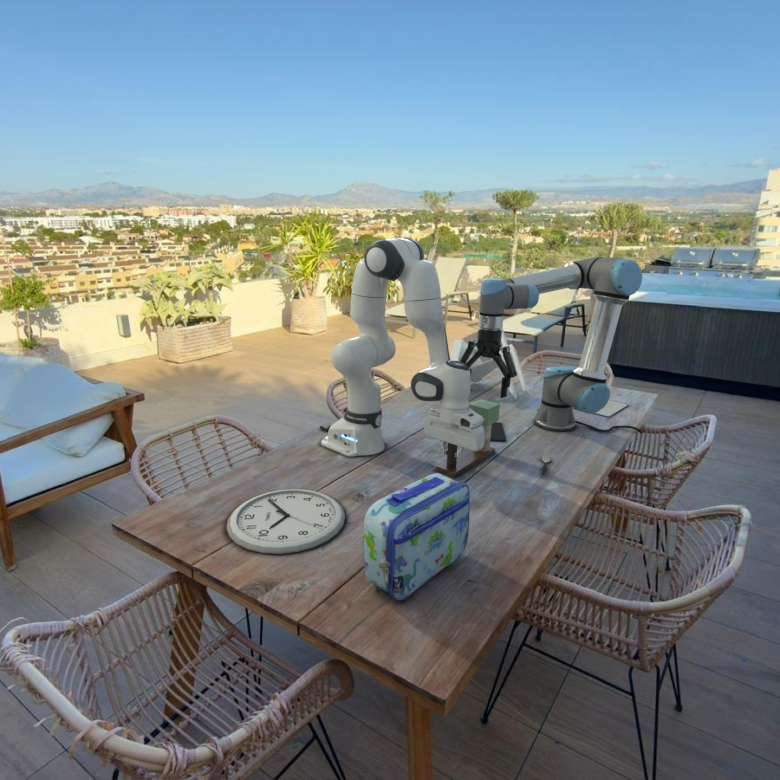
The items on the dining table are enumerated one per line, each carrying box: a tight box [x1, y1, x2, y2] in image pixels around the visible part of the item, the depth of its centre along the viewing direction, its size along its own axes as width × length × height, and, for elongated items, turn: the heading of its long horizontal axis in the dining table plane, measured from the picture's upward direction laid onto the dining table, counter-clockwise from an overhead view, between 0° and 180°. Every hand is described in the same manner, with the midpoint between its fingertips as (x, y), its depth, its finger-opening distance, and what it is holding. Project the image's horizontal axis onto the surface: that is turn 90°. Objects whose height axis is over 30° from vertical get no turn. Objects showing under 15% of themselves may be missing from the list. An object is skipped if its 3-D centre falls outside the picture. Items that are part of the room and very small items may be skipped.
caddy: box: [435, 424, 496, 478], centre depth 170 cm, size 7×25×12 cm, turn 140°
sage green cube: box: [469, 398, 501, 427], centre depth 174 cm, size 7×7×6 cm
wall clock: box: [226, 488, 346, 555], centre depth 135 cm, size 30×2×30 cm
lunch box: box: [362, 472, 471, 601], centre depth 112 cm, size 26×11×21 cm, turn 134°
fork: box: [541, 451, 552, 476], centre depth 168 cm, size 3×16×2 cm, turn 160°
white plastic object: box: [450, 326, 531, 400], centre depth 245 cm, size 37×45×31 cm
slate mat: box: [490, 421, 506, 443], centre depth 197 cm, size 18×18×1 cm
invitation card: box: [595, 399, 629, 418], centre depth 226 cm, size 21×1×15 cm
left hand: (451, 455), depth 163 cm, fingers closed on caddy, 3 cm apart
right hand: (484, 392), depth 172 cm, fingers open, 13 cm apart
